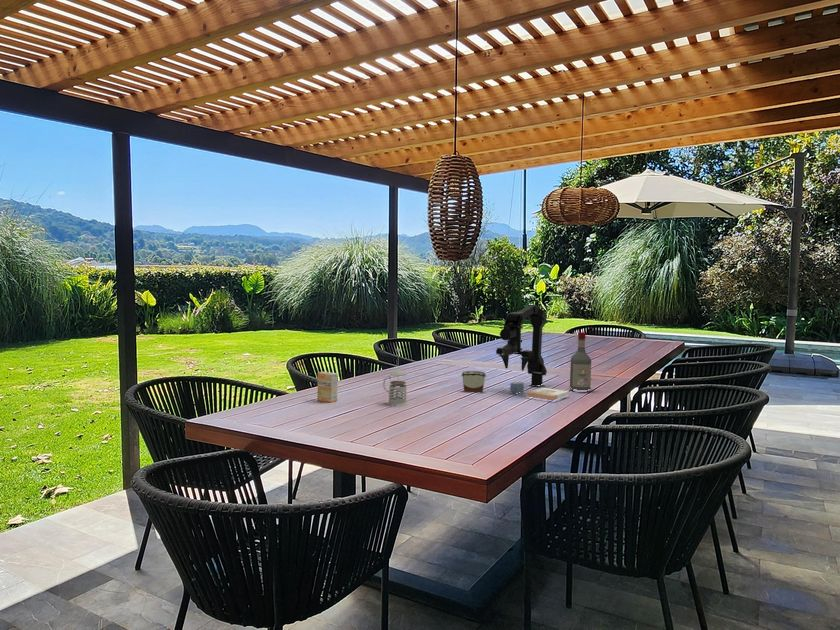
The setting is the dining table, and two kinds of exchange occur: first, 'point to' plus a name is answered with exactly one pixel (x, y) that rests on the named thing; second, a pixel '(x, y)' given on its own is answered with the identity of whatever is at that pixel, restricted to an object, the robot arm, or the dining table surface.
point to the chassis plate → (547, 393)
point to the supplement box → (327, 386)
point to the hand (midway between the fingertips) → (514, 369)
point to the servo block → (516, 387)
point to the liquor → (580, 366)
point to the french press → (397, 388)
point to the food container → (473, 381)
